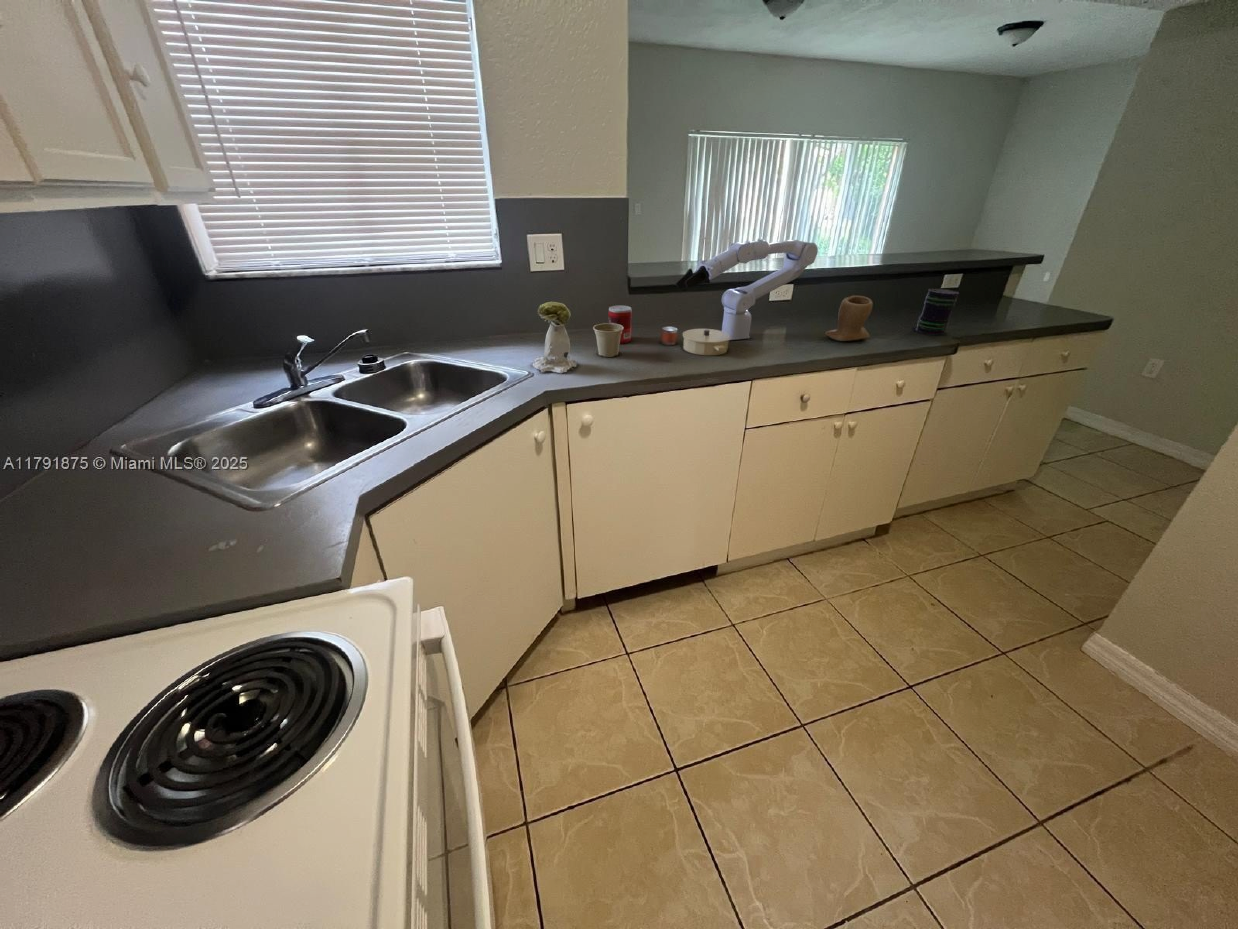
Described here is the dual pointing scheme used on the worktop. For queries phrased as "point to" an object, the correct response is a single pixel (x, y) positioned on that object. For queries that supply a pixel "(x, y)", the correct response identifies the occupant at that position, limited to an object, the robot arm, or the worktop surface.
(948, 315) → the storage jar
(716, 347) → the pot
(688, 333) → the pot lid
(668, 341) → the tin can
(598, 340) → the flower pot
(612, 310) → the canned food
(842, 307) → the brown clay vase
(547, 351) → the mossy mushroom figurine
